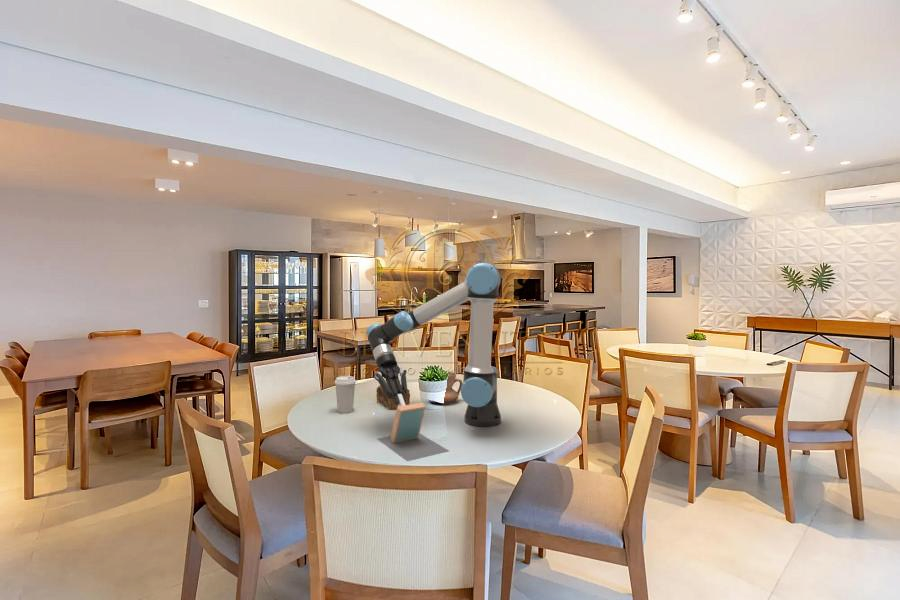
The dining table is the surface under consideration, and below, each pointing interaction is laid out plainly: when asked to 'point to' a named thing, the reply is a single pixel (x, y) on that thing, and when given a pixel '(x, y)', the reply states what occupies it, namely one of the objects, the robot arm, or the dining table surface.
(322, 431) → the dining table surface
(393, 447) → the mat
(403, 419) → the tile
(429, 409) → the dining table surface
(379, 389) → the bread
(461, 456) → the dining table surface
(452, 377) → the ceramic jug
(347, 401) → the coffee cup
